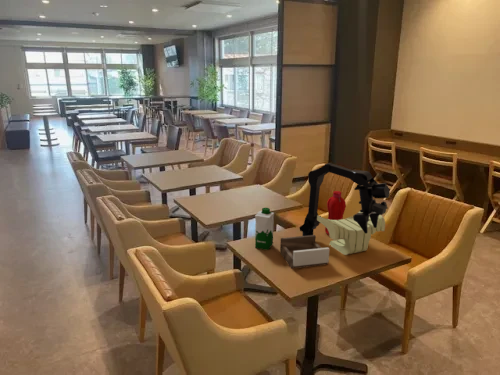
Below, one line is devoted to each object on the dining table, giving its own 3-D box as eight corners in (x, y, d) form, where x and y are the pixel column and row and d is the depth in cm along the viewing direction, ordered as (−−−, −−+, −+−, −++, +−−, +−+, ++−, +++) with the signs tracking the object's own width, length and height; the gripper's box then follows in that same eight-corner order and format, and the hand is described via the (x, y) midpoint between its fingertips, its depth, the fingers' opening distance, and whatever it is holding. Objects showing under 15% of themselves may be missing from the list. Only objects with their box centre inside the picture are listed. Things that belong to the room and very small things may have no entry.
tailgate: (292, 264, 174) (293, 250, 172) (327, 261, 177) (328, 247, 176) (293, 266, 172) (294, 252, 170) (328, 262, 176) (329, 248, 174)
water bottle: (331, 239, 206) (334, 195, 199) (323, 231, 216) (325, 189, 209) (347, 237, 208) (350, 194, 201) (337, 230, 218) (341, 188, 211)
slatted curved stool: (333, 260, 183) (336, 226, 178) (315, 247, 197) (317, 215, 192) (382, 249, 194) (386, 217, 189) (361, 238, 208) (364, 207, 203)
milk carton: (274, 244, 199) (275, 208, 194) (268, 251, 191) (269, 214, 186) (259, 241, 203) (259, 206, 197) (252, 248, 195) (253, 211, 189)
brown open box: (280, 252, 190) (280, 238, 188) (313, 249, 194) (314, 234, 192) (291, 268, 174) (292, 252, 172) (327, 264, 178) (328, 248, 176)
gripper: (373, 203, 165) (377, 237, 167) (391, 193, 178) (395, 225, 180) (350, 203, 173) (355, 236, 175) (369, 194, 186) (374, 224, 188)
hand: (370, 230), depth 179 cm, fingers open, 9 cm apart
